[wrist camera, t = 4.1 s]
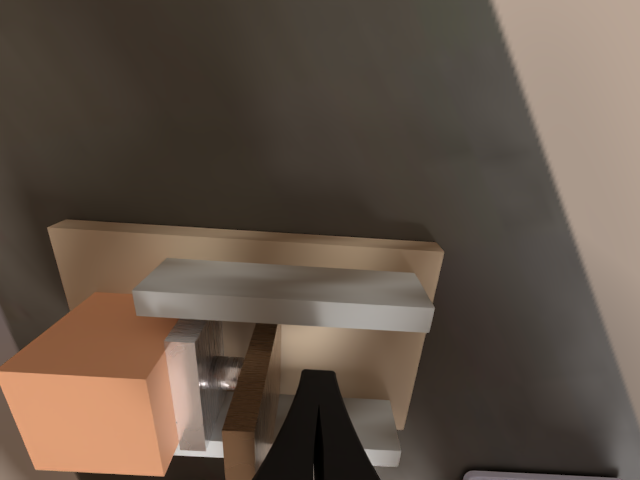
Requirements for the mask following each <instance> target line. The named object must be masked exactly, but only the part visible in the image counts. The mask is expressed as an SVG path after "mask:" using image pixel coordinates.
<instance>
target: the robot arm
mask: <svg viewBox="0 0 640 480" xmlns="http://www.w3.org/2000/svg"><path fill="white" fill-rule="evenodd" d="M313 464H314V478H315V480H380V478H379V476H378V474H377V473H376V471H375V469H374V467H373V465H372V464H371V462H370V460H369V458H368V456H367V454H366V452H365V450H364V448H363V446H362V444H361V442H360V440H359V438H358V436H357V433H356V431H355V429H354V427H353V424H352V422H351V419H350V417H349V414H348V412H347V409H346V407H345V404H344V401H343V398H342V395H341V392H340V389H339V385H338V382H337V377H336V373H335V372H334V371H330V370H313V369H304V370H303V371H301V377H300V381H299V385H298V388H297V391H296V394H295V397H294V399H293V402H292V404H291V407H290V409H289V411H288V414H287V416H286V418H285V421H284V423H283V425H282V427H281V429H280V431H279V433H278V435H277V437H276V439H275V441H274V443H273V445H272V446H271V448H270V450H269V452H268V454H267V455H266V457H265V459H264V461H263V462H262V464H261V466H260V467H259V469H258V471H257V472H256V474H255V475H254V477H253V479H252V480H313ZM463 480H622V479H620V478H611V477H591V476H572V475H553V474H534V473H514V472H495V471H476V470H473V471H468V472H467V473H466V474H465V475H464V478H463Z"/></svg>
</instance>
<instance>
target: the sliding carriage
mask: <svg viewBox="0 0 640 480" xmlns="http://www.w3.org/2000/svg"><path fill="white" fill-rule="evenodd" d="M281 328H282V324H267V323H256V325H255V328H254V331H253V334H252V337H251V341H250V344H249V347H248V350H247V353H246V356H245V357H228V356H224V342H223V326H222V321H215V320H198V319H181V318H180V319H179V320H178V321H177V323H176V324H175V326H174V327H173V329H172V330H171V331H170V333H169V334H168V336H167V337H166V339H165V340H164V347H165V354H166V360H167V367H168V374H169V380H170V387H171V393H172V400H173V407H174V413H175V420H176V427H177V433H178V440H179V446H180V450H188V451H206V450H207V447H208V444H209V442H210V439H211V436H212V433H213V430H214V427H215V424H216V421H217V419H218V416H219V413H220V410H221V407H222V404H223V401H224V398H225V395H226V393H227V390H235V391H234V394H233V397H232V400H231V403H230V406H229V409H228V412H227V416H226V419H225V422H224V425H223V428H222V442H223V455H224V468H225V480H252V479H253V477H254V475H255V474H256V472H257V471H258V469H259V467H260V466H261V464H262V462H263V461H264V459H265V457H266V455H267V454H268V452H269V450H270V448H271V446H272V441H273V435H274V428H275V422H276V415H277V409H278V403H279V396H280V376H281Z"/></svg>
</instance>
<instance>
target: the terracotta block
mask: <svg viewBox="0 0 640 480" xmlns="http://www.w3.org/2000/svg"><path fill="white" fill-rule="evenodd" d="M179 319H180V318H164V317H146V316H136V311H135V305H134V300H133V294H121V293H104V292H95V293H93V294H92V295H91V296H89V297H88V298H87V299H86V300H84V301H83V302H82V303H81V304H79V305H78V306H77V307H75V308H74V309H73V310H72V311H70V312H69V313H68V314H66V315H65V316H64V317H63V318H61V319H60V320H59V321H58V322H56V323H55V324H54V325H52V326H51V327H50V328H49V329H47V330H46V331H45V332H44V333H42V334H41V335H40V336H38V337H37V338H36V339H35V340H33V341H32V342H31V343H29V344H28V345H27V346H26V347H24V348H23V349H22V350H21V351H19V352H18V353H17V354H15V355H14V356H13V357H12V358H10V359H9V360H8V361H7V362H5V363H4V364H3V365H2V366H0V386H1V388H2V391H3V393H4V395H5V398H6V400H7V403H8V405H9V408H10V410H11V412H12V415H13V417H14V420H15V421H16V424H17V426H18V429H19V432H20V434H21V436H22V439H23V441H24V444H25V446H26V448H27V450H28V453H29V455H30V458H31V460H32V463H33V465H34V467H35V470H49V471H50V470H51V471H69V472H87V473H106V474H125V475H144V476H163V477H164V476H165V473H166V471H167V469H168V466H169V464H170V462H171V460H172V457H173V455H174V453H175V451H176V448H177V446H178V444H179V440H178V433H177V427H176V420H175V413H174V407H173V400H172V393H171V387H170V380H169V374H168V367H167V360H166V354H165V347H164V340H165V339H166V337H167V336H168V334H169V333H170V331H171V330H172V329H173V327H174V326H175V324H176V323H177V321H178V320H179Z"/></svg>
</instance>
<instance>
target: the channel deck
mask: <svg viewBox="0 0 640 480" xmlns="http://www.w3.org/2000/svg"><path fill="white" fill-rule="evenodd" d="M47 229H48V233H49V237H50V240H51V244H52V247H53V251H54V255H55V258H56V262H57V266H58V269H59V273H60V276H61V280H62V284H63V287H64V291H65V295H66V298H67V302H68V305H69V309H70V311H72V310H73V309H74V308H75V307H77V306H78V305H79V304H81V303H82V302H83V301H84V300H86V299H87V298H88V297H89V296H91V295H92V294H93V293H95V292H104V293H121V294H133V300H134V305H135V311H136V316H146V317H164V318H181V319H198V320H215V321H222V326H223V342H224V356H228V357H245V356H246V353H247V350H248V347H249V344H250V341H251V337H252V334H253V331H254V328H255V325H256V323H267V324H282V328H281V376H280V396H279V403H278V409H277V415H276V422H275V428H274V435H273V441H272V445H273V443H274V441H275V439H276V437H277V435H278V433H279V431H280V429H281V427H282V425H283V423H284V421H285V418H286V416H287V414H288V411H289V409H290V407H291V404H292V402H293V399H294V397H295V394H296V391H297V388H298V385H299V381H300V377H301V371H303V370H304V369H313V370H330V371H334V372H335V373H336V377H337V382H338V385H339V389H340V392H341V395H342V398H343V401H344V404H345V407H346V409H347V412H348V414H349V417H350V419H351V422H352V424H353V427H354V429H355V431H356V433H357V436H358V438H359V440H360V442H361V444H362V446H363V448H364V450H365V452H366V454H367V456H368V458H369V460H370V462H371V464H372V465H373V466H390V467H398V464H399V460H400V455H401V447H400V442H399V438H398V434H397V430H404V426H405V422H406V417H407V413H408V408H409V404H410V400H411V395H412V391H413V387H414V382H415V378H416V374H417V369H418V365H419V361H420V356H421V352H422V348H423V343H424V339H425V334H426V333H429V332H430V327H431V323H432V319H433V315H434V310H435V307H434V306H433V300H434V295H435V291H436V287H437V282H438V278H439V273H440V269H441V265H442V260H443V256H444V251H443V250H442V249H441V247H440V246H439V245H438V244H437V243H436V242H423V241H407V240H391V239H375V238H359V237H343V236H326V235H310V234H294V233H278V232H262V231H246V230H230V229H214V228H198V227H181V226H165V225H149V224H133V223H117V222H101V221H85V220H69V219H66V220H64V221H61V222H59V223H56V224H54V225H52V226H49V227H47ZM234 391H235V390H227V393H226V395H225V398H224V401H223V404H222V407H221V410H220V413H219V416H218V419H217V421H216V424H215V427H214V430H213V433H212V436H211V439H210V442H209V444H208V447H207V450H206V451H188V450H180V446H179V444H178V446H177V448H176V451H175V453H174V455H178V456H197V457H217V458H224V455H223V442H222V428H223V425H224V422H225V419H226V416H227V412H228V409H229V406H230V403H231V400H232V397H233V394H234Z"/></svg>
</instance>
